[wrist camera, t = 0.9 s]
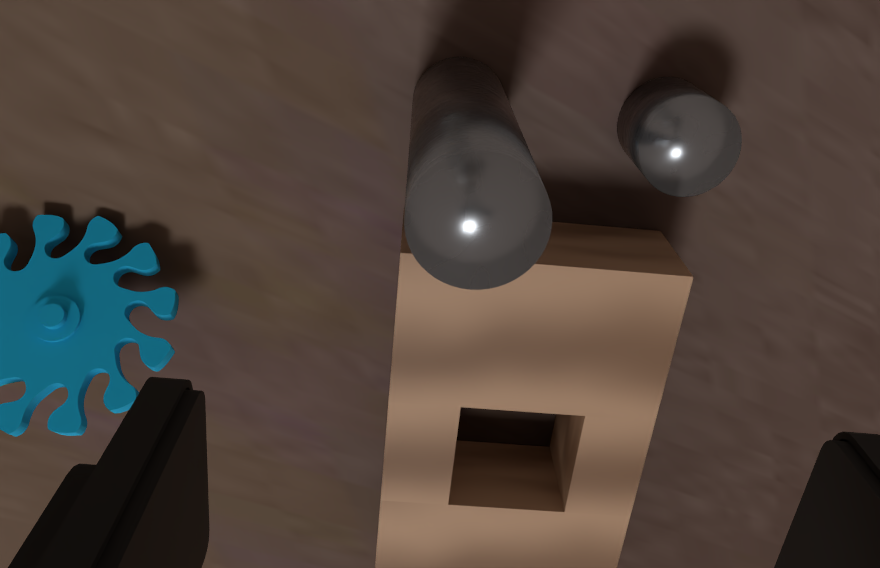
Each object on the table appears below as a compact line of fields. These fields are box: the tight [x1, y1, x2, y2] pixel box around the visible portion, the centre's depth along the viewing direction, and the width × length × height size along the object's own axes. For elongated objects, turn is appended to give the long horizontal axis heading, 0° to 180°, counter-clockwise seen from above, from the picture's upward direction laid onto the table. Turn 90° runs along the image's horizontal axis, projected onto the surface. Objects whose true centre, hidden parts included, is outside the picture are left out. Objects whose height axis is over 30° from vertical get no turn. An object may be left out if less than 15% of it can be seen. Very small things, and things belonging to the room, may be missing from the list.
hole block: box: [375, 209, 693, 568], centre depth 38 cm, size 20×12×5 cm, turn 175°
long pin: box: [404, 57, 552, 290], centre depth 27 cm, size 4×4×14 cm
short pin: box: [617, 77, 742, 197], centre depth 32 cm, size 4×4×4 cm
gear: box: [0, 215, 179, 437], centre depth 35 cm, size 11×6×10 cm
